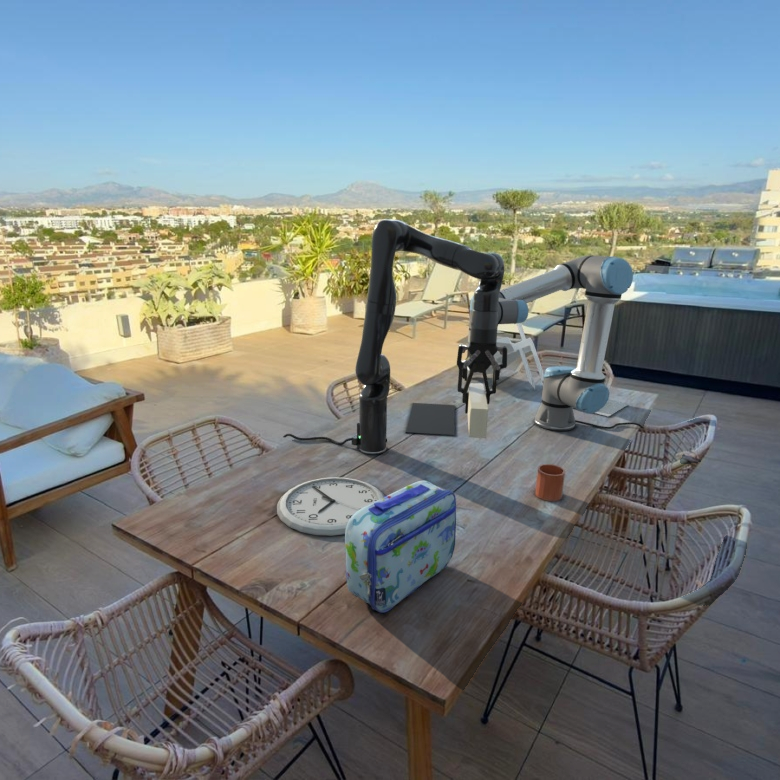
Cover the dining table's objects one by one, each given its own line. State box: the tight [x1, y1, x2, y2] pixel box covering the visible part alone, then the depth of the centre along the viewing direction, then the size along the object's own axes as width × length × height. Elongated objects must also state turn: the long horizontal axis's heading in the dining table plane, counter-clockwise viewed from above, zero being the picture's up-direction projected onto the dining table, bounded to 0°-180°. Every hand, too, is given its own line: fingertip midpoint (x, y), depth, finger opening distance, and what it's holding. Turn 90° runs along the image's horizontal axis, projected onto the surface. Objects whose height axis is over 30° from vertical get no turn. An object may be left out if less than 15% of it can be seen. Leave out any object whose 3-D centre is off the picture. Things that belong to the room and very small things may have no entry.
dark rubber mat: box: [405, 402, 456, 437], centre depth 209 cm, size 18×34×1 cm, turn 173°
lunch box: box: [344, 480, 457, 614], centre depth 109 cm, size 26×11×21 cm, turn 135°
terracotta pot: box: [534, 463, 566, 502], centre depth 149 cm, size 7×7×8 cm
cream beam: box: [467, 382, 489, 439], centre depth 164 cm, size 5×26×9 cm, turn 173°
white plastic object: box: [467, 323, 545, 390], centre depth 260 cm, size 37×45×31 cm
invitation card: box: [594, 399, 628, 418], centre depth 226 cm, size 21×1×15 cm
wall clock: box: [276, 476, 386, 537], centre depth 143 cm, size 30×2×30 cm
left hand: (480, 380), depth 153 cm, fingers open, 8 cm apart
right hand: (475, 412), depth 173 cm, fingers closed on cream beam, 5 cm apart
